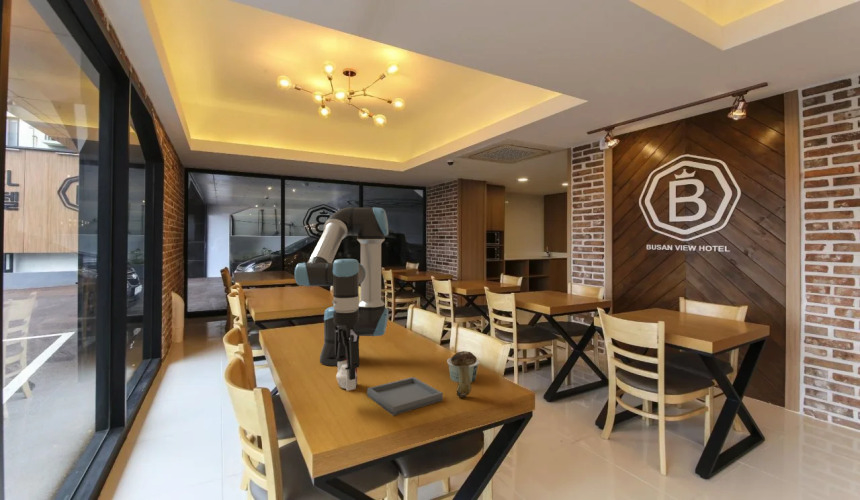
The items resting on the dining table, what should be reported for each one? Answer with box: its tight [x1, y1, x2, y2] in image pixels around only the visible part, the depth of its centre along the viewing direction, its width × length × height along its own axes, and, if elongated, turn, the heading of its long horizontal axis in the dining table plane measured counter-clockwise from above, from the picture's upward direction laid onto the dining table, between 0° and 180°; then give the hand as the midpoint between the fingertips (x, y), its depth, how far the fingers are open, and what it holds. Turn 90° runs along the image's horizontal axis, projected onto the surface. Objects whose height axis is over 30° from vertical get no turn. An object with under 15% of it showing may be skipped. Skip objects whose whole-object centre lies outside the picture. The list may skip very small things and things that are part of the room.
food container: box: [446, 356, 480, 383], centre depth 136 cm, size 12×12×6 cm
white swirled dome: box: [335, 364, 358, 389], centre depth 112 cm, size 6×6×7 cm
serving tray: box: [366, 376, 444, 417], centre depth 119 cm, size 17×18×2 cm
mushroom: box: [450, 350, 478, 399], centre depth 119 cm, size 9×9×15 cm
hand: (346, 385), depth 112 cm, fingers closed on white swirled dome, 6 cm apart
